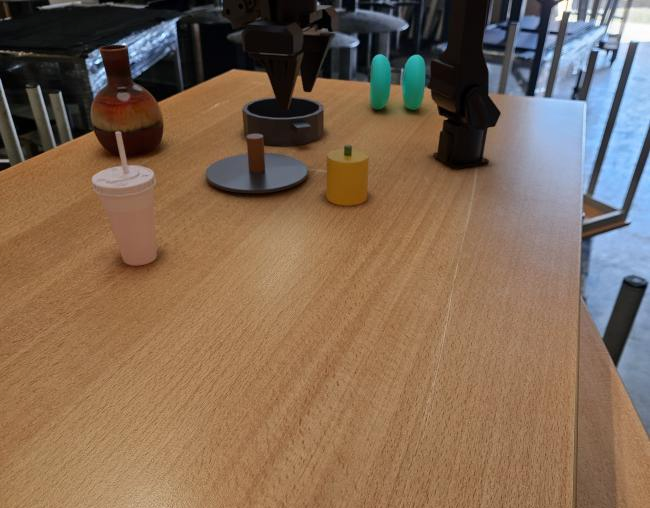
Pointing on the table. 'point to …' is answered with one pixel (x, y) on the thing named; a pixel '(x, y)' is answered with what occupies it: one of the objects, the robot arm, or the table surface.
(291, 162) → the pan lid
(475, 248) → the table surface
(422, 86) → the teal upright capsules
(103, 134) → the vase
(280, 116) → the pan
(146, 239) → the smoothie
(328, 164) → the pepper
